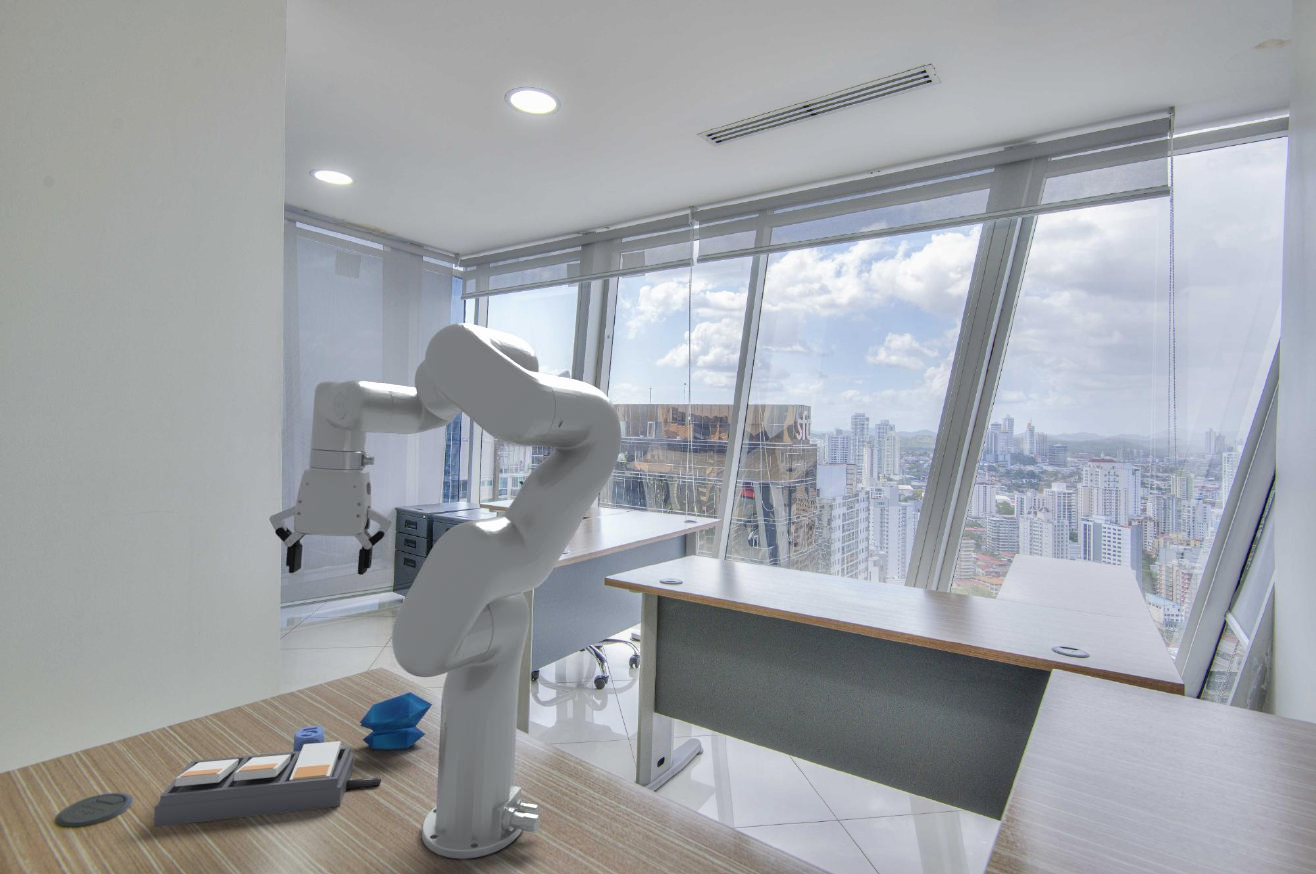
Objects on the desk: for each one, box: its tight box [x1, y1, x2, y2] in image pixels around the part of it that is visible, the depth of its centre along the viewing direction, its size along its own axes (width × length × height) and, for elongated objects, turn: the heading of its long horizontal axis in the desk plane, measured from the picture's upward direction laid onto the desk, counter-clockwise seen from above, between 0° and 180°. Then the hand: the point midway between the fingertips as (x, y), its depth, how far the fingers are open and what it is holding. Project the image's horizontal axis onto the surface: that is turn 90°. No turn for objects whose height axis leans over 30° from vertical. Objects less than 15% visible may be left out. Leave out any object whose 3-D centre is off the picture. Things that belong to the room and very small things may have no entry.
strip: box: [153, 746, 382, 828], centre depth 84 cm, size 26×9×4 cm, turn 106°
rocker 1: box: [175, 759, 239, 786], centre depth 82 cm, size 5×7×1 cm
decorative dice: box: [292, 725, 325, 752], centre depth 95 cm, size 4×4×4 cm
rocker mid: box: [234, 754, 291, 781], centre depth 84 cm, size 5×7×1 cm
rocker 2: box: [289, 740, 342, 781], centre depth 86 cm, size 5×7×1 cm
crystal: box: [359, 691, 433, 750], centre depth 99 cm, size 7×9×12 cm
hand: (329, 572), depth 95 cm, fingers open, 9 cm apart
